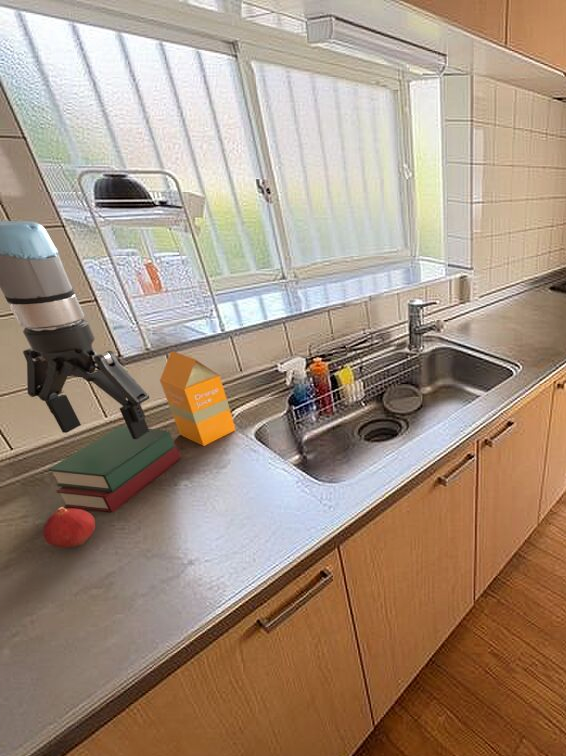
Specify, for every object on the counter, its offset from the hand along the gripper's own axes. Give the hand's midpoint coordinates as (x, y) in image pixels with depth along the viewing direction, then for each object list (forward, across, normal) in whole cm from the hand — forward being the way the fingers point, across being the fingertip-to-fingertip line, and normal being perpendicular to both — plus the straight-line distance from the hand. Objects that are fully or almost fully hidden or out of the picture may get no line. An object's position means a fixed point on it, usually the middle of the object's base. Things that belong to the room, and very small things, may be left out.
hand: (106, 432), depth 78 cm
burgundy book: (+12, 0, 0) cm, 12 cm away
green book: (+8, 0, 0) cm, 8 cm away
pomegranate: (+12, -5, +15) cm, 20 cm away
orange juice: (+12, -3, -18) cm, 22 cm away
